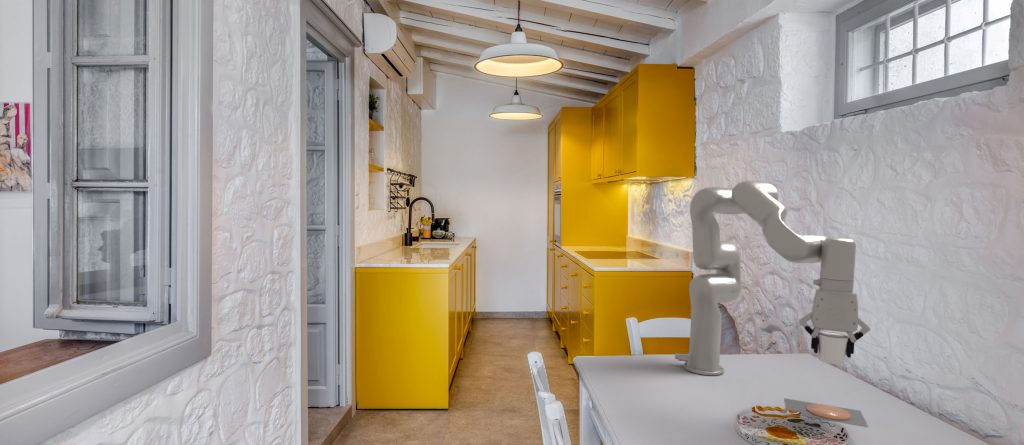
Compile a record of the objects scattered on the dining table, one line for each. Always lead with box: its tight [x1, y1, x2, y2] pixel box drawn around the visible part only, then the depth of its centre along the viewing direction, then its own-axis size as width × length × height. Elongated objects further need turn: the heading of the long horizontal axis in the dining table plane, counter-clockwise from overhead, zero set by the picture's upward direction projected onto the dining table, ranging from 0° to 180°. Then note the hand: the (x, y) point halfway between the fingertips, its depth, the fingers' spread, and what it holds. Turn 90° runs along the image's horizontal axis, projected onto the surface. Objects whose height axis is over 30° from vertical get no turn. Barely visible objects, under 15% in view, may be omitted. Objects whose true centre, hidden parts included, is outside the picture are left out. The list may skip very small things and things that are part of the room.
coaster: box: [807, 403, 851, 420], centre depth 143 cm, size 10×10×1 cm
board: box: [784, 398, 869, 428], centre depth 144 cm, size 18×12×2 cm, turn 66°
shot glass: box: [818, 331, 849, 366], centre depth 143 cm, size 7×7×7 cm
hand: (831, 353), depth 143 cm, fingers closed on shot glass, 6 cm apart
